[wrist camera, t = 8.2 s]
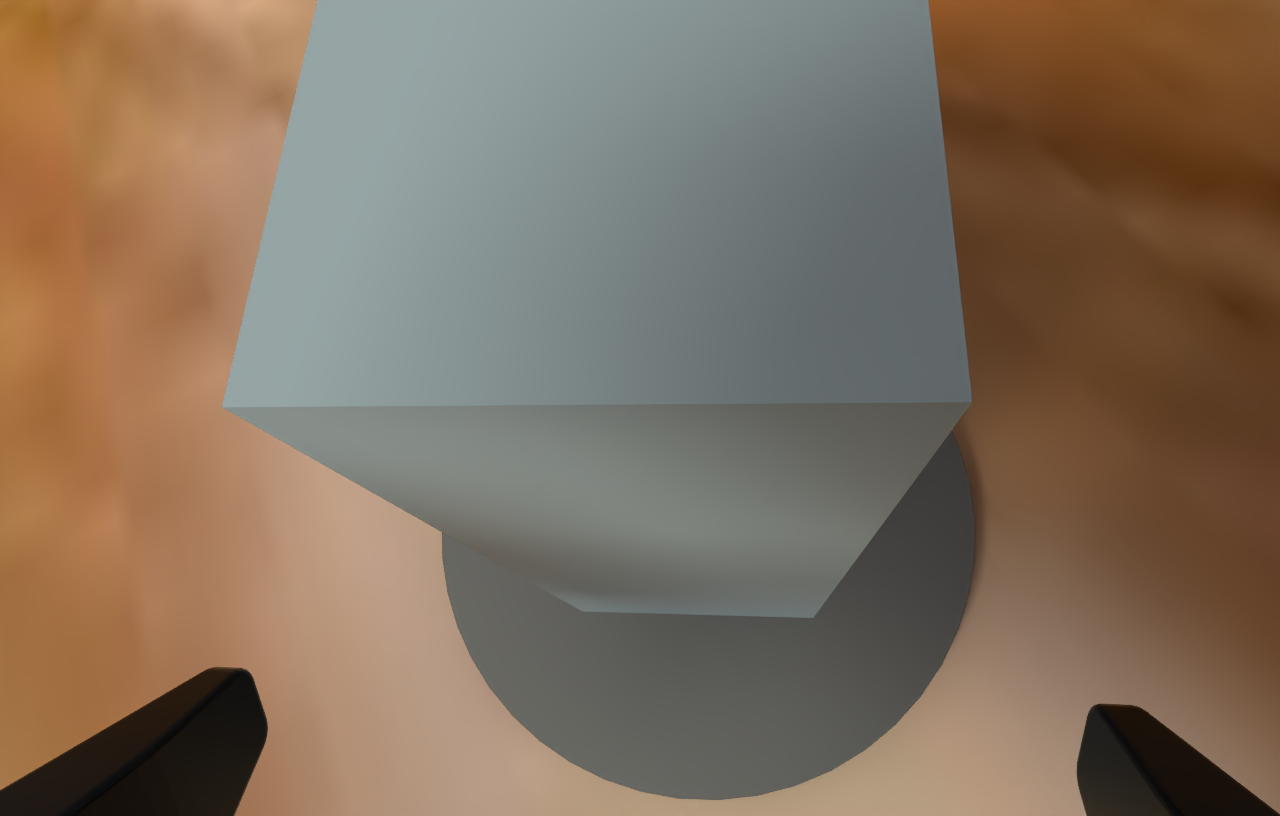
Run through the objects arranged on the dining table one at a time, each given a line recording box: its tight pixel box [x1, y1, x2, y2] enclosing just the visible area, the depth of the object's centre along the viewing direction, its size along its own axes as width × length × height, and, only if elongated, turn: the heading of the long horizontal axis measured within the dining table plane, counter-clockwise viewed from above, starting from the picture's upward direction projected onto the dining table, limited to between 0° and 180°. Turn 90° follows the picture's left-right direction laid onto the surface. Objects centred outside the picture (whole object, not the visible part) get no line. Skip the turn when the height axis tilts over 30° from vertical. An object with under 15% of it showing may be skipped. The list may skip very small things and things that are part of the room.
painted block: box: [222, 0, 972, 618], centre depth 12 cm, size 5×5×13 cm
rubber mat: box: [442, 431, 975, 800], centre depth 18 cm, size 12×12×1 cm
